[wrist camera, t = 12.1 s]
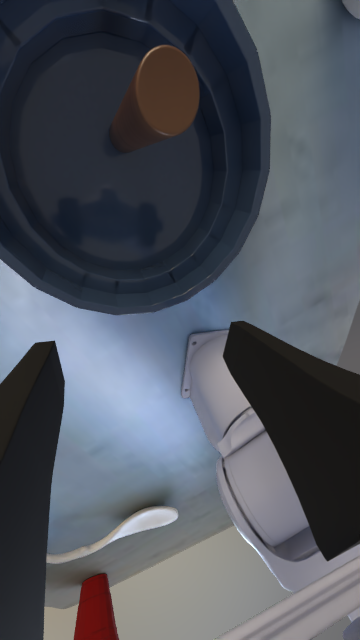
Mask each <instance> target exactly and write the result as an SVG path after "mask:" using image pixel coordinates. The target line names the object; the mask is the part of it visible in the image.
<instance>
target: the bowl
mask: <svg viewBox="0 0 360 640" xmlns="http://www.w3.org/2000/svg"><path fill="white" fill-rule="evenodd" d="M159 45H170V46H173V47H176V48H178V49H179V50H181V51H182V52H183V53H184V54H185V55H186V56H187V57H188V59H189V60H190V62H191V63H192V65H193V67H194V69H195V72H196V74H197V78H198V82H199V90H200V98H199V106H198V111H197V114H196V116H195V119H194V121H193V122H192V124H191V125H190V127H189V128H188V129H187V130H186V131H185V132H183V133H181V134H179V135H177V136H174V137H171V138H168V139H166V140H163V141H160V142H157V143H154V144H151V145H149V146H146V147H143V148H140V149H137V150H134V151H131V152H128V153H123V152H120V151H118V150H117V149H116V148H115V147H114V146H113V144H112V142H111V140H110V136H109V129H110V126H111V123H112V121H113V119H114V117H115V115H116V113H117V111H118V109H119V106H120V104H121V102H122V100H123V98H124V96H125V94H126V92H127V90H128V87H129V85H130V83H131V81H132V79H133V77H134V75H135V73H136V71H137V68H138V66H139V64H140V62H141V60H142V59H143V57H144V56H145V54H146V53H147V52H148V51H149V50H151V49H152V48H154V47H156V46H159ZM256 51H257V49H256V47H255V45H254V42H253V40H252V38H251V36H250V34H249V32H248V30H247V28H246V26H245V24H244V22H243V20H242V18H241V16H240V14H239V12H238V10H237V8H236V6H235V4H234V2H233V0H0V259H1V260H2V261H3V262H5V263H6V264H7V265H8V266H9V267H11V268H12V269H13V270H14V271H15V272H17V273H18V274H19V275H20V276H21V277H23V278H24V279H25V280H26V281H27V282H29V283H30V284H31V285H32V286H33V287H36V288H37V289H39V290H41V291H43V292H45V293H47V294H49V295H51V296H53V297H56V298H58V299H60V300H62V301H64V302H66V303H68V304H70V305H72V306H74V307H78V308H81V309H86V310H91V311H97V312H102V313H107V314H112V315H128V314H141V313H153V312H156V311H159V310H162V309H165V308H168V307H170V306H173V305H176V304H179V303H181V302H184V301H186V300H188V299H190V298H191V297H192V296H194V295H195V294H197V293H198V292H200V291H201V290H202V289H204V288H205V287H207V286H208V285H210V284H211V283H213V282H214V280H216V279H217V278H218V277H219V276H220V274H221V273H222V272H223V271H224V270H225V269H226V267H227V266H228V265H229V264H230V263H231V262H232V261H233V259H234V258H235V257H236V256H237V255H238V254H239V252H240V250H241V248H242V246H243V244H244V243H245V241H246V239H247V237H248V235H249V233H250V231H251V229H252V227H253V225H254V223H255V221H256V219H257V217H258V215H259V211H260V207H261V203H262V199H263V195H264V191H265V187H266V183H267V179H268V175H269V169H270V131H271V115H270V108H269V103H268V99H267V94H266V89H265V84H264V79H263V75H262V70H261V65H260V60H259V56H258V52H256Z"/></svg>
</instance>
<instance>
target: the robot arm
mask: <svg viewBox="0 0 360 640" xmlns="http://www.w3.org/2000/svg"><path fill="white" fill-rule="evenodd" d="M194 341H195V342H194ZM192 342H194V343H192ZM64 385H65V380H64V376H63V372H62V368H61V364H60V360H59V356H58V352H57V347H56V343H55V341H48V342H39V343H35V344H34V345H33V346H32V347H31V348H30V350H29V351H28V352H27V353H26V354H25V356H24V357H23V358H22V359H21V361H20V362H19V363H18V364H17V365H16V367H15V368H14V369H13V370H12V371H11V372H10V374H9V375H8V376H7V377H6V378H5V379H4V380H3V382H2V383H1V384H0V640H43V633H44V631H43V630H44V602H45V580H46V557H47V540H48V523H49V509H50V495H51V483H52V475H53V468H54V462H55V456H56V450H57V444H58V438H59V432H60V426H61V420H62V414H63V407H64ZM181 396H182V398H189V397H190V399H191V401H192V403H193V406H194V408H195V410H196V413H197V415H198V417H199V420H200V422H201V425H202V427H203V429H204V432H205V434H206V436H207V438H208V440H209V442H210V443H211V445H212V446H213V447H214V448H215V449H216V450H218V451H219V452H220V453H221V455H222V456H221V457H220V458H219V459H218V460H217V465H216V470H217V471H216V480H217V485H218V489H219V492H220V495H221V498H222V501H223V503H224V506H225V508H226V510H227V512H228V514H229V516H230V518H231V520H232V521H233V523H234V525H235V526H236V528H237V529H238V531H239V532H240V534H241V535H242V536H243V538H244V539H245V540H246V541H247V542H248V543H249V544H250V545H252V546H253V547H254V549H255V550H256V551H257V552H258V554H259V555H260V556H261V558H262V559H263V560H264V562H265V563H266V564H267V566H268V568H269V569H270V571H271V572H272V574H273V575H274V576H276V577H277V579H278V581H279V582H280V584H281V586H282V587H283V588H285V589H286V590H288V591H292V592H294V593H293V594H292V595H290V596H288V597H286V598H285V599H283V600H281V601H279V602H278V603H276V604H274V605H272V606H271V607H269V608H268V609H265V610H264V611H262V612H260V613H259V614H257V615H255V616H253V617H252V618H250V619H248V620H246V621H245V622H243V623H241V624H239V625H238V626H236V627H234V628H233V629H231V630H229V631H227V632H225V633H224V634H222V635H220V636H219V637H217V638H215V639H213V640H311V639H313V638H314V637H316V636H317V635H319V634H320V633H322V632H323V631H325V630H326V629H328V628H329V627H331V626H332V625H334V624H335V623H337V622H338V621H340V620H341V619H343V618H344V617H346V616H348V617H349V619H350V620H351V622H352V623H351V624H350V625H349V626H348V627H347V628H346V629H345V630H344V631H343V638H344V640H360V375H359V374H356V373H353V372H350V371H347V370H345V369H342V368H340V367H338V366H335V365H333V364H330V363H328V362H325V361H323V360H321V359H318V358H316V357H314V356H312V355H310V354H308V353H306V352H304V351H301V350H299V349H297V348H295V347H293V346H291V345H289V344H288V343H286V342H284V341H282V340H280V339H278V338H276V337H274V336H272V335H270V334H269V333H267V332H265V331H263V330H261V329H259V328H257V327H255V326H253V325H251V324H249V323H247V322H244V321H237V322H231V325H230V329H229V330H222V331H213V332H204V333H195V334H192V335H190V337H189V341H188V349H187V356H186V363H185V370H184V377H183V384H182V391H181Z"/></svg>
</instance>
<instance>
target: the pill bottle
mask: <svg viewBox="0 0 360 640" xmlns="http://www.w3.org/2000/svg"><path fill="white" fill-rule="evenodd" d="M342 2H343V4H344V6H345V7H346V9H347V10H348V11H349V12H350V13H351V14H352V15H353V16H354V17H356V18H358V19H360V0H342Z"/></svg>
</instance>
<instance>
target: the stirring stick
mask: <svg viewBox="0 0 360 640" xmlns="http://www.w3.org/2000/svg"><path fill="white" fill-rule="evenodd" d="M199 98H200V90H199V82H198V78H197V74H196V72H195V69H194V67H193V65H192V63H191V62H190V60H189V59H188V57H187V56H186V55H185V54H184V53H183V52H182V51H181V50H179V49H178V48H176V47H173V46H170V45H159V46H156V47H154V48H152V49H151V50H149V51H148V52H147V53H146V54H145V56H144V57H143V59H142V60H141V62H140V64H139V66H138V68H137V71H136V73H135V75H134V77H133V79H132V81H131V83H130V85H129V87H128V90H127V92H126V94H125V96H124V98H123V100H122V102H121V104H120V106H119V109H118V111H117V113H116V115H115V117H114V119H113V121H112V123H111V126H110V129H109V136H110V140H111V142H112V144H113V146H114V147H115V148H116V149H117V150H118V151H120V152H123V153H128V152H131V151H134V150H137V149H140V148H143V147H146V146H149V145H151V144H154V143H157V142H160V141H163V140H166V139H168V138H171V137H174V136H177V135H179V134H181V133H183V132H185V131H186V130H187V129H188V128H189V127H190V125H191V124H192V122H193V121H194V119H195V116H196V114H197V111H198V106H199Z"/></svg>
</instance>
